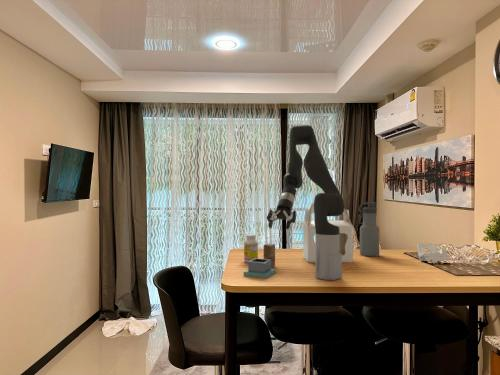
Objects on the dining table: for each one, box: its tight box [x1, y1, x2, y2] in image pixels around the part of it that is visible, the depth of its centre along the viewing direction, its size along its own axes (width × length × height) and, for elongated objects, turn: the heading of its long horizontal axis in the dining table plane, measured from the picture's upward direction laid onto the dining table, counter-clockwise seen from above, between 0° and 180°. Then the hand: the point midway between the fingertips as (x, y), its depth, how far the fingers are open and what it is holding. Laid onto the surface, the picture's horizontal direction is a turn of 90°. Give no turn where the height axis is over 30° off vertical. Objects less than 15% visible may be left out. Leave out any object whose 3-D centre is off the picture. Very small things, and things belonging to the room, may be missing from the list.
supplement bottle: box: [243, 233, 259, 263], centre depth 161 cm, size 7×7×13 cm
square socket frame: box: [247, 257, 272, 273], centre depth 137 cm, size 7×7×4 cm
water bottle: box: [357, 201, 380, 257], centre depth 178 cm, size 10×10×28 cm
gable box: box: [302, 202, 354, 263], centre depth 166 cm, size 22×13×28 cm, turn 91°
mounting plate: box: [243, 268, 276, 279], centre depth 137 cm, size 10×10×2 cm
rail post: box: [263, 243, 276, 269], centre depth 150 cm, size 4×4×10 cm
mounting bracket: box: [416, 243, 452, 263], centre depth 160 cm, size 12×6×11 cm, turn 88°
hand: (278, 227), depth 161 cm, fingers open, 8 cm apart
